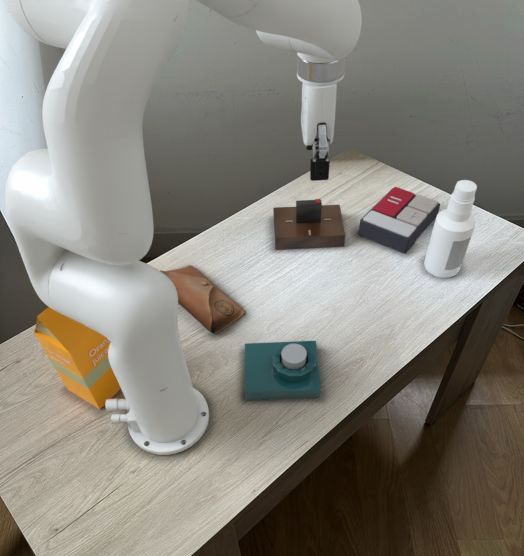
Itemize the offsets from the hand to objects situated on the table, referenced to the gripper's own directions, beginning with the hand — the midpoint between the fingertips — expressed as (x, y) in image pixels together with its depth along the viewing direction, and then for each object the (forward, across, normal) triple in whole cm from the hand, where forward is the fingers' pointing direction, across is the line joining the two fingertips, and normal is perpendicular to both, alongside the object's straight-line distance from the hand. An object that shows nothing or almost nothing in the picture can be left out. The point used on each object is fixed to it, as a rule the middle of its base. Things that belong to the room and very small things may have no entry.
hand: (317, 163), depth 94 cm
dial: (+14, -1, -1) cm, 14 cm away
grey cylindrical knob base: (+16, +35, -8) cm, 39 cm away
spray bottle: (+17, +11, +24) cm, 31 cm away
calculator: (+17, -2, +18) cm, 25 cm away
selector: (+17, -1, -1) cm, 17 cm away
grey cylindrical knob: (+13, +35, -6) cm, 38 cm away
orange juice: (+16, +35, -38) cm, 54 cm away
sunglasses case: (+17, +17, -23) cm, 33 cm away
